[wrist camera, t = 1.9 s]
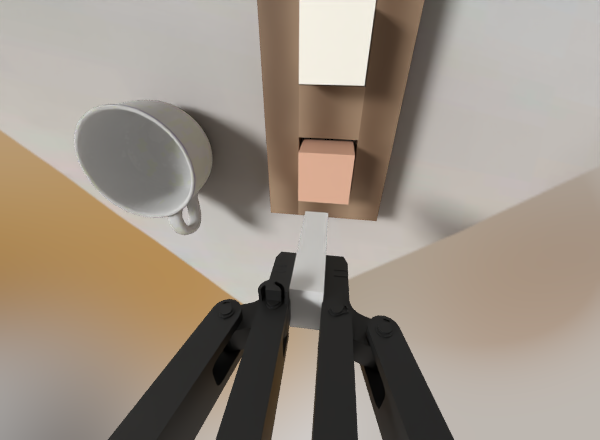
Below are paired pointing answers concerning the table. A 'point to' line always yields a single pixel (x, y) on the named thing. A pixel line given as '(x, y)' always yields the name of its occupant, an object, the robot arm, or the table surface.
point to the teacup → (146, 159)
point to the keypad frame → (334, 105)
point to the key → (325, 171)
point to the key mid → (334, 41)
